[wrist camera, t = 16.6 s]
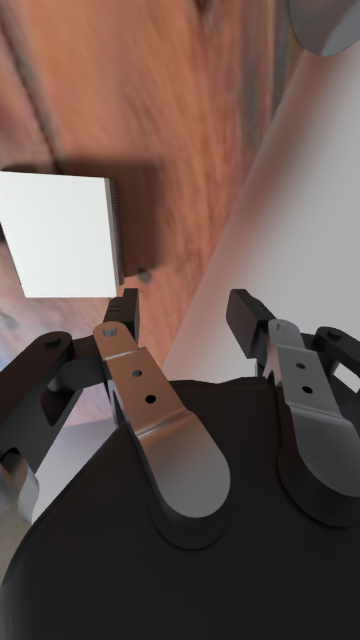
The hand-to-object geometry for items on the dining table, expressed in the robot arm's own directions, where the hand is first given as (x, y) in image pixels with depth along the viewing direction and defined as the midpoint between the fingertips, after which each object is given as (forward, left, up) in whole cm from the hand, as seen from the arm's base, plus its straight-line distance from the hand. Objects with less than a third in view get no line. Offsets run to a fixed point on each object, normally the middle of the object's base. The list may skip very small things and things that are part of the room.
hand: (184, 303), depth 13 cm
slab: (+11, 0, -16) cm, 20 cm away
